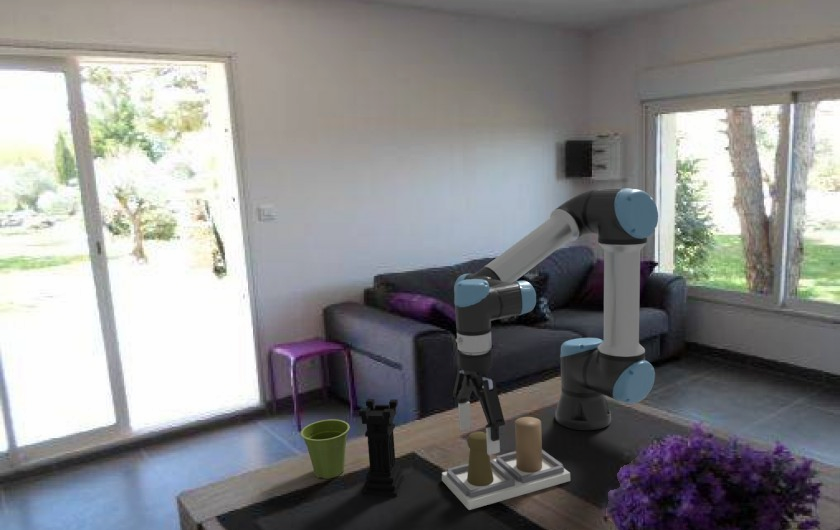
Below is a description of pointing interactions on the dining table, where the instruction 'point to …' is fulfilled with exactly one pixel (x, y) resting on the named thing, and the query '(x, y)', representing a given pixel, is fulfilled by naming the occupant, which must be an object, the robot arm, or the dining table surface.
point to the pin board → (511, 470)
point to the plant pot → (326, 446)
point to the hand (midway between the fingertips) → (478, 440)
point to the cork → (479, 460)
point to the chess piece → (381, 449)
